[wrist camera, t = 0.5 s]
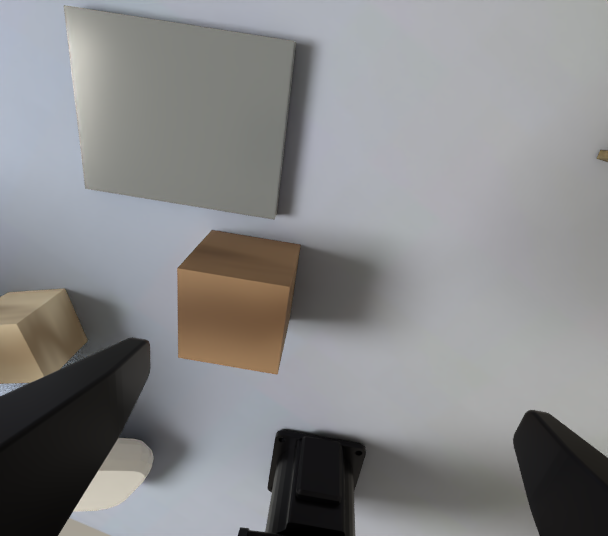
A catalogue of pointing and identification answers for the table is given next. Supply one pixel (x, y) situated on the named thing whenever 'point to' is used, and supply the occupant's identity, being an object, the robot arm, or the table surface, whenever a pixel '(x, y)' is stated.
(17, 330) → the maple cube
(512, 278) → the table surface
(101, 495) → the white elongated block
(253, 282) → the walnut cube
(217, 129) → the plate
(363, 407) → the table surface
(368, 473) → the table surface
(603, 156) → the miniature windmill
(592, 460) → the robot arm
